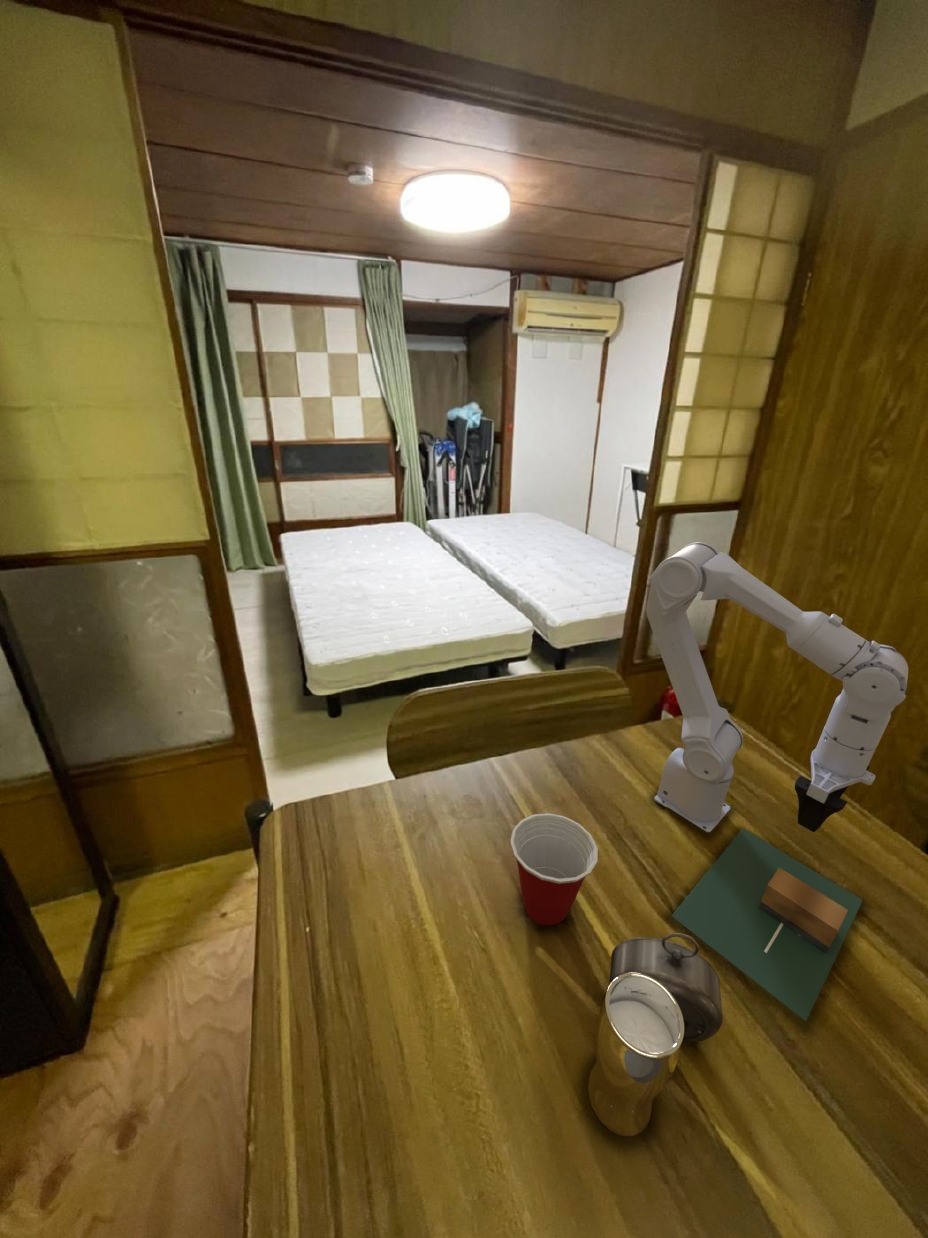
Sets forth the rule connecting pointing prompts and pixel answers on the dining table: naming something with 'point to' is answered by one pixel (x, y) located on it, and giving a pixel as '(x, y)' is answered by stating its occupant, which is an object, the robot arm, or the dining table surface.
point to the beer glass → (633, 1051)
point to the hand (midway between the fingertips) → (816, 812)
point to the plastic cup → (551, 864)
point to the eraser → (803, 909)
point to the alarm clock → (676, 979)
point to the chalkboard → (763, 921)
